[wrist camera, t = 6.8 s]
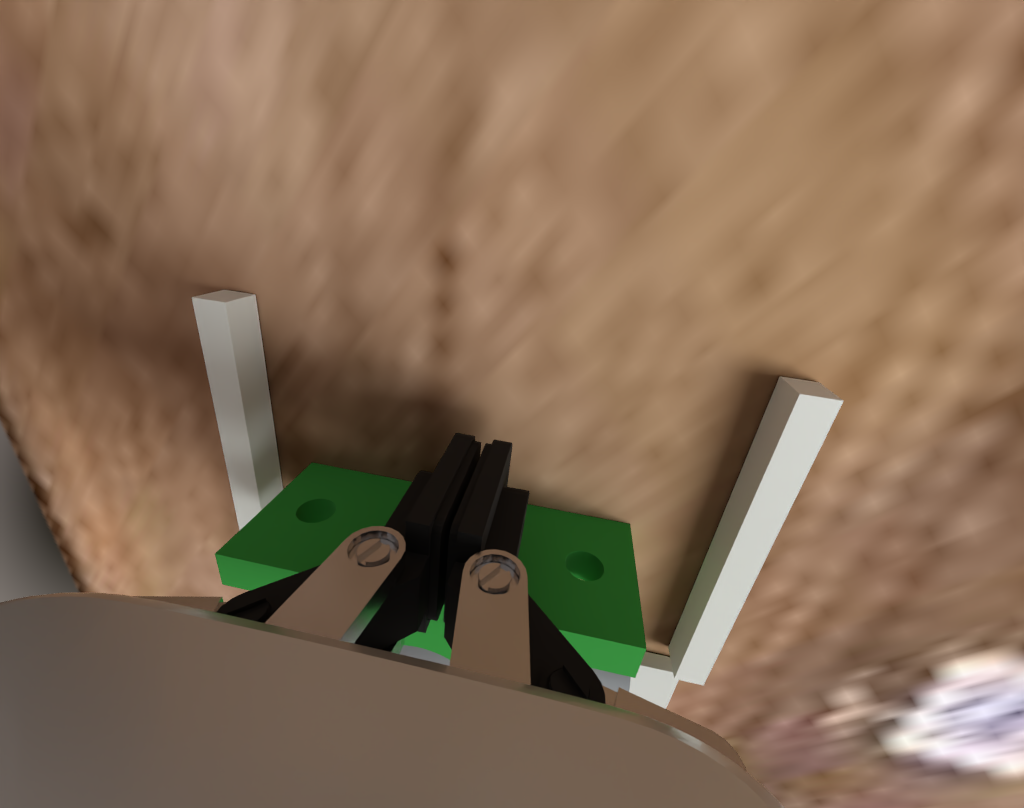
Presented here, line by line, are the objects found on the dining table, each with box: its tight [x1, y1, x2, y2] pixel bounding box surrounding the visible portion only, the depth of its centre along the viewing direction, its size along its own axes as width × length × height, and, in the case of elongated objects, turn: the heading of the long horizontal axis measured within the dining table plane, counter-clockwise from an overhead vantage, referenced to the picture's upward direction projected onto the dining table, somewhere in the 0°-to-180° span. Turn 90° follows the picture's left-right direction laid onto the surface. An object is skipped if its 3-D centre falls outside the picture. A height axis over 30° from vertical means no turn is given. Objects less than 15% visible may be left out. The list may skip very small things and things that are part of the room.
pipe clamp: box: [215, 463, 646, 678], centre depth 14 cm, size 11×4×5 cm, turn 83°
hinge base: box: [192, 290, 843, 709], centre depth 16 cm, size 20×17×2 cm
